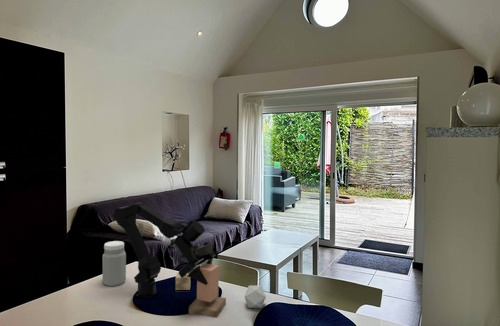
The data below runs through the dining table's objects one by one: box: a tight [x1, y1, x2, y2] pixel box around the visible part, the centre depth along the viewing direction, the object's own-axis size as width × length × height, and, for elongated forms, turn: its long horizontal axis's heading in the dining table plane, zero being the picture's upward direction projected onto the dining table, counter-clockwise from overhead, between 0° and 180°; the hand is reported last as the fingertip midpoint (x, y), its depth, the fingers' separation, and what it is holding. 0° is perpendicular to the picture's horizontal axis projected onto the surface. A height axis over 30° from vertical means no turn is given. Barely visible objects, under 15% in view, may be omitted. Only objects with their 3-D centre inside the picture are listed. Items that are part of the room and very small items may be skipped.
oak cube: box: [175, 272, 191, 290], centre depth 154 cm, size 6×6×6 cm
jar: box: [102, 240, 127, 287], centre depth 158 cm, size 10×10×18 cm
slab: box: [188, 296, 227, 318], centre depth 135 cm, size 11×11×3 cm
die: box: [244, 285, 266, 309], centre depth 138 cm, size 8×9×10 cm
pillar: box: [196, 263, 220, 302], centre depth 135 cm, size 6×6×12 cm
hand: (211, 281), depth 134 cm, fingers closed on pillar, 6 cm apart
